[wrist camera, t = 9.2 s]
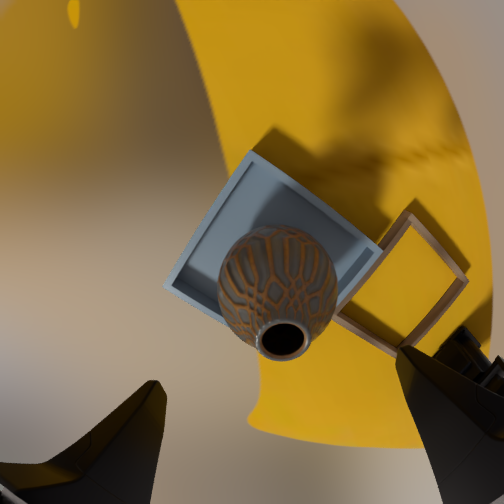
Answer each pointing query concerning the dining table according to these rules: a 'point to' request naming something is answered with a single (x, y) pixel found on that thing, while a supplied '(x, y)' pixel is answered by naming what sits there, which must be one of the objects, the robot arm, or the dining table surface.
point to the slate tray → (261, 214)
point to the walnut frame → (386, 246)
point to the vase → (277, 290)
